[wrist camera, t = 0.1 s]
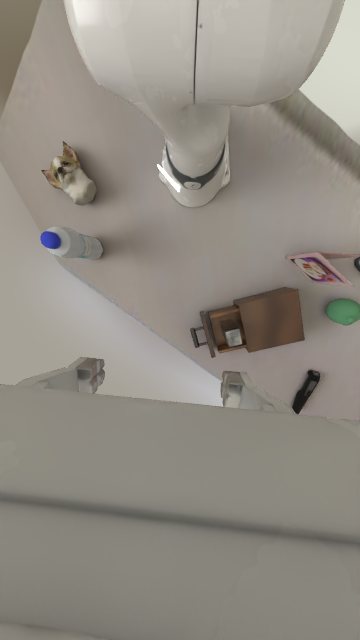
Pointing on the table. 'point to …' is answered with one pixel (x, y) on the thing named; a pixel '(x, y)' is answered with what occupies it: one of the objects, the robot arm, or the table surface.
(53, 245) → the bottle
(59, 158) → the ceramic sculpture
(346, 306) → the alien toy
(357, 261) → the phone case
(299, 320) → the cabinet
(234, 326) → the grey block
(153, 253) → the table surface
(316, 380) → the electric trimmer
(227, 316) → the drawer
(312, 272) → the greeting card
